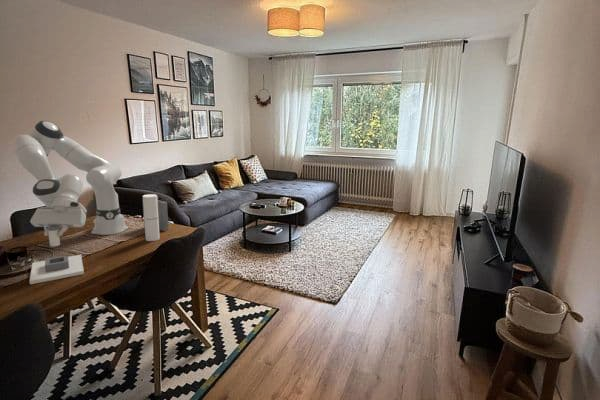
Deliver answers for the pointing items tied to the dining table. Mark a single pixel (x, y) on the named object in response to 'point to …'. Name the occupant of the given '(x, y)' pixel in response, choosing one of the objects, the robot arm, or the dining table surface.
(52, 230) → the plug
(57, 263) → the socket block
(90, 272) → the dining table surface
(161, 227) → the hip flask
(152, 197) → the cylindrical container
